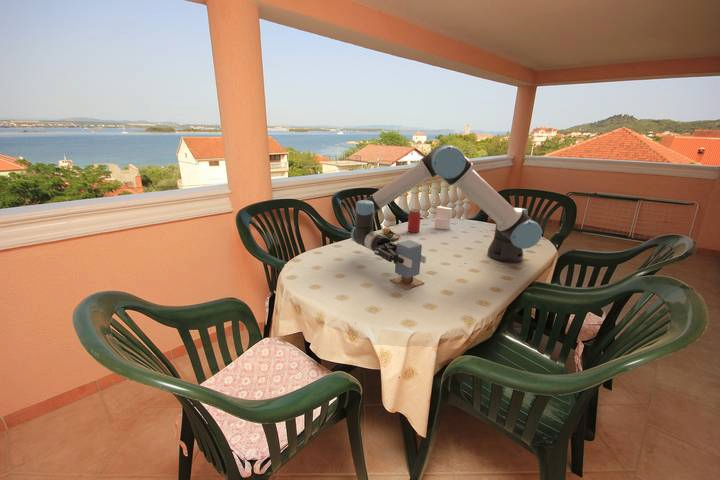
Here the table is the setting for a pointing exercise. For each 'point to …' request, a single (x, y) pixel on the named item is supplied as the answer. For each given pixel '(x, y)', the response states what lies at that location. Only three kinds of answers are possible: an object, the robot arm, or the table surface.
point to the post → (407, 282)
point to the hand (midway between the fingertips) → (418, 261)
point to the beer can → (414, 221)
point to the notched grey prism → (412, 253)
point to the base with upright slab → (443, 217)
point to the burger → (389, 234)
